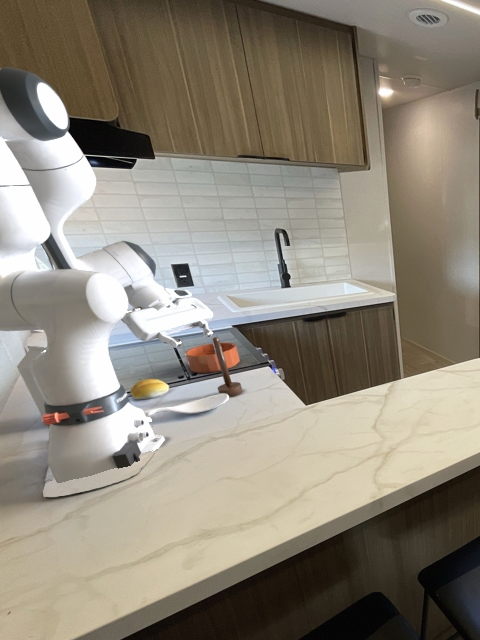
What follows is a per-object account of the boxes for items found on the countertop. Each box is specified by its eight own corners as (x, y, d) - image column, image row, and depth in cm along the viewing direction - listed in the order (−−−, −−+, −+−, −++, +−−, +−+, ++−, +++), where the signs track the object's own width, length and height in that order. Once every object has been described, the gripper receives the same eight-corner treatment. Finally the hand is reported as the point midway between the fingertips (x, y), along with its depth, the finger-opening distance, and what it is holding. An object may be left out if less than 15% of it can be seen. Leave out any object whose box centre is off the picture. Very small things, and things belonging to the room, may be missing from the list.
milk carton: (66, 425, 99) (31, 352, 92) (44, 422, 100) (8, 350, 93) (98, 411, 106) (67, 343, 98) (77, 409, 107) (45, 341, 100)
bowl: (240, 368, 134) (235, 351, 132) (188, 377, 127) (182, 359, 125) (240, 356, 145) (236, 340, 143) (192, 363, 138) (187, 346, 136)
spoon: (69, 436, 94) (62, 423, 93) (228, 397, 113) (224, 386, 111) (63, 453, 88) (56, 439, 86) (233, 409, 106) (229, 397, 105)
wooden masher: (242, 394, 115) (226, 338, 108) (219, 399, 112) (201, 341, 105) (242, 388, 119) (227, 333, 112) (220, 392, 116) (203, 336, 110)
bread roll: (137, 403, 110) (132, 390, 108) (129, 394, 115) (124, 382, 114) (174, 393, 116) (169, 380, 114) (165, 385, 121) (160, 373, 120)
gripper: (117, 304, 99) (161, 344, 100) (193, 289, 117) (230, 323, 119) (110, 321, 102) (153, 360, 103) (186, 303, 120) (221, 337, 122)
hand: (194, 340), depth 111 cm, fingers open, 8 cm apart
